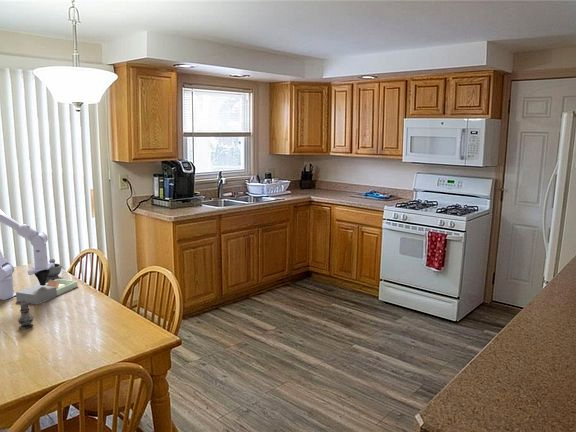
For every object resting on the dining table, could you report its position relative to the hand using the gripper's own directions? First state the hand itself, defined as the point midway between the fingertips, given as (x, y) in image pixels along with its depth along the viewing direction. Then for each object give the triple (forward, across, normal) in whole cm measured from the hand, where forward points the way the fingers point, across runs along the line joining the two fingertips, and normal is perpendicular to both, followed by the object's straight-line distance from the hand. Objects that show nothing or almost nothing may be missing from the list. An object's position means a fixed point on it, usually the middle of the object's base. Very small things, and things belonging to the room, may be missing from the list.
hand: (42, 285), depth 230 cm
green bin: (+6, +9, 0) cm, 11 cm away
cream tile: (+3, +9, 0) cm, 10 cm away
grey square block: (+6, -4, 0) cm, 7 cm away
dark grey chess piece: (+6, -31, -21) cm, 38 cm away
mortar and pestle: (+6, +23, +16) cm, 28 cm away
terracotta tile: (+2, +5, 0) cm, 5 cm away
